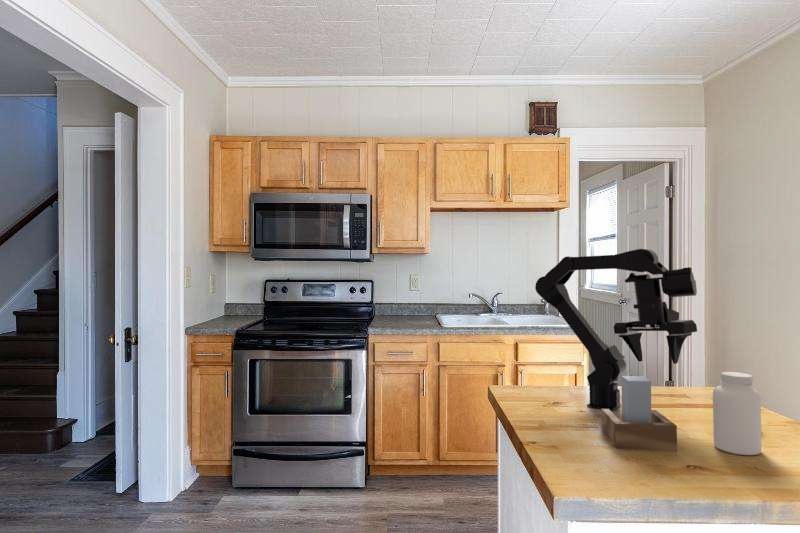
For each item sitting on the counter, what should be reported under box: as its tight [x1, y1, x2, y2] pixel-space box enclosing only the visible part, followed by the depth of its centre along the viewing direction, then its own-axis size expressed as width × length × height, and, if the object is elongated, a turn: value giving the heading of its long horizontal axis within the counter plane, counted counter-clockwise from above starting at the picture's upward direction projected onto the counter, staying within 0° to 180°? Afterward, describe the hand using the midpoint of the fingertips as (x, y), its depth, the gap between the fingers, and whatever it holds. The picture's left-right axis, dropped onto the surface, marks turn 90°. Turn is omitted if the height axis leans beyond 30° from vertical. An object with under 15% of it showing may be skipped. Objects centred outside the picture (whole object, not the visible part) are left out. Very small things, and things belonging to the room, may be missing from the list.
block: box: [621, 375, 652, 423], centre depth 105 cm, size 4×4×13 cm
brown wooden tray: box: [601, 409, 678, 452], centre depth 104 cm, size 11×12×5 cm
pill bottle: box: [712, 371, 762, 456], centre depth 99 cm, size 8×8×15 cm
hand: (657, 362), depth 122 cm, fingers open, 9 cm apart
